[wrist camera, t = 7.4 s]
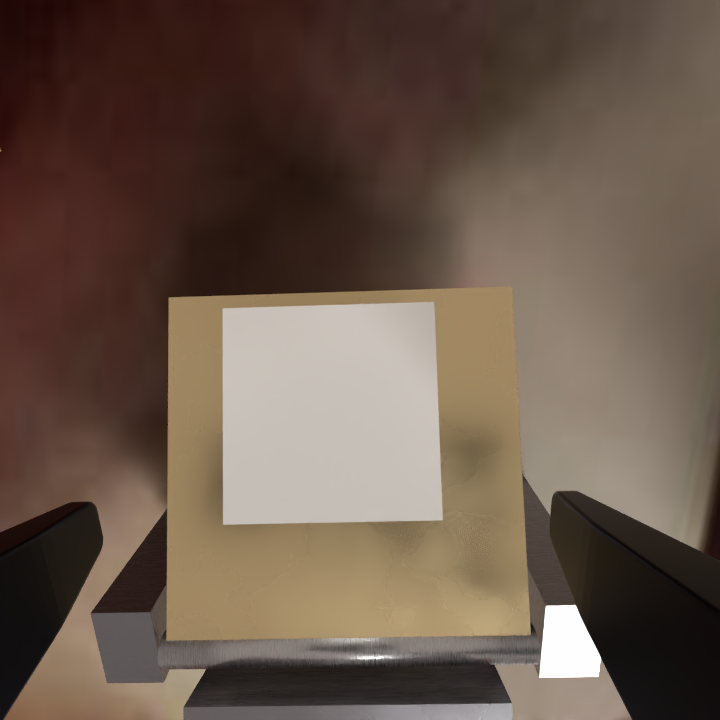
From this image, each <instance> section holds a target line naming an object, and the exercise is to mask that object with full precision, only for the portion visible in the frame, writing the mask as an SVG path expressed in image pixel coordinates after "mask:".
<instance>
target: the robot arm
mask: <svg viewBox="0 0 720 720" xmlns="http://www.w3.org/2000/svg"><path fill="white" fill-rule="evenodd" d="M549 532H550V538H551V542H552V545H553V547H554V550H555V552H556V555H557V558H558V560H559V563H560V566H561V568H562V571H563V573H564V576H565V579H566V581H567V584H568V586H569V589H570V592H571V594H572V597H573V600H574V602H575V605H576V607H577V610H578V612H579V614H580V617H581V619H582V621H583V623H584V625H585V627H586V629H587V631H588V633H589V635H590V637H591V639H592V641H593V643H594V645H595V647H596V649H597V651H598V653H599V655H600V657H601V659H602V661H603V663H604V665H605V667H606V669H607V671H608V673H609V675H610V677H611V679H612V681H613V683H614V685H615V687H616V689H617V691H618V693H619V695H620V697H621V699H622V701H623V703H624V704H625V706H626V708H627V710H628V712H629V714H630V716H631V718H632V720H720V561H719V560H717V559H715V558H713V557H711V556H709V555H707V554H705V553H703V552H701V551H699V550H697V549H694V548H692V547H690V546H688V545H686V544H684V543H682V542H680V541H678V540H676V539H674V538H672V537H670V536H668V535H666V534H664V533H662V532H660V531H658V530H656V529H654V528H652V527H649V526H647V525H645V524H643V523H641V522H639V521H637V520H635V519H633V518H631V517H629V516H627V515H625V514H623V513H621V512H619V511H617V510H615V509H613V508H611V507H609V506H606V505H604V504H602V503H600V502H598V501H596V500H594V499H592V498H590V497H588V496H586V495H584V494H582V493H580V492H578V491H557V492H555V493H554V494H553V497H552V504H551V516H550V527H549ZM102 545H103V535H102V530H101V525H100V521H99V516H98V512H97V508H96V506H95V504H93V503H92V502H71V503H68V504H65V505H63V506H61V507H58V508H56V509H54V510H51V511H49V512H47V513H44V514H42V515H40V516H37V517H35V518H33V519H30V520H28V521H26V522H23V523H21V524H19V525H16V526H14V527H12V528H9V529H7V530H5V531H2V532H0V720H4V718H5V717H6V715H7V714H8V712H9V710H10V709H11V707H12V706H13V704H14V702H15V701H16V699H17V698H18V696H19V694H20V693H21V691H22V690H23V688H24V687H25V685H26V683H27V682H28V680H29V679H30V677H31V675H32V674H33V672H34V671H35V669H36V667H37V666H38V664H39V663H40V661H41V659H42V658H43V656H44V655H45V653H46V651H47V650H48V648H49V647H50V645H51V644H52V642H53V640H54V639H55V637H56V635H57V634H58V632H59V630H60V629H61V627H62V625H63V623H64V622H65V620H66V618H67V616H68V614H69V612H70V610H71V609H72V607H73V605H74V603H75V601H76V599H77V597H78V595H79V593H80V591H81V589H82V587H83V585H84V583H85V581H86V579H87V577H88V575H89V573H90V571H91V569H92V567H93V565H94V563H95V561H96V559H97V557H98V556H99V554H100V551H101V549H102Z"/></svg>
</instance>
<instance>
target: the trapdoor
mask: <svg viewBox="0 0 720 720" xmlns="http://www.w3.org/2000/svg"><path fill="white" fill-rule="evenodd" d="M415 302H434V309H435V335H436V360H437V385H438V411H439V436H440V461H441V487H442V512H443V520H434V521H384V522H334V523H284V524H233V525H223V308H251V307H284V306H316V305H349V304H382V303H415ZM539 662H540V646H539V641H538V637H537V633H536V630H535V628H534V626H533V624H532V623H531V622H530V609H529V590H528V572H527V553H526V535H525V516H524V498H523V479H522V461H521V442H520V424H519V405H518V387H517V368H516V350H515V332H514V313H513V295H512V287H482V288H450V289H419V290H387V291H356V292H324V293H293V294H262V295H230V296H199V297H169V340H168V486H167V629H166V630H165V632H164V633H163V636H162V638H161V641H160V644H159V649H158V666H159V668H160V669H161V670H165V669H206V671H205V673H204V674H203V676H202V678H201V679H200V681H199V683H198V684H197V686H196V688H195V689H194V691H193V693H192V694H191V696H190V698H189V699H188V701H187V703H186V704H185V706H184V720H513V714H512V702H511V700H510V698H509V696H508V694H507V691H506V689H505V687H504V685H503V683H502V681H501V678H500V676H499V674H498V672H497V670H496V667H495V665H533V664H539Z"/></svg>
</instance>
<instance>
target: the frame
mask: <svg viewBox="0 0 720 720" xmlns="http://www.w3.org/2000/svg"><path fill="white" fill-rule="evenodd" d="M522 479H523V498H524V516H525V535H526V553H527V572H528V590H529V609H530V622H531V623H532V624H533V626H534V628H535V630H536V633H537V637H538V641H539V646H540V662H539V664H534V665H535V668H536V670H537V673H538V676H539V678H540V677H598V675H599V668H600V661H601V657H600V655H599V653H598V651H597V649H596V647H595V645H594V643H593V641H592V639H591V637H590V635H589V633H588V631H587V629H586V627H585V625H584V623H583V621H582V619H581V617H580V614H579V612H578V610H577V607H576V605H575V602H574V600H573V597H572V594H571V592H570V589H569V586H568V584H567V581H566V579H565V576H564V573H563V571H562V568H561V566H560V563H559V560H558V558H557V555H556V552H555V550H554V547H553V545H552V542H551V538H550V532H549V527H550V515H549V514H548V512H547V511H546V509H545V508H544V506H543V505H542V503H541V502H540V500H539V498H538V497H537V495H536V494H535V492H534V491H533V489H532V488H531V486H530V485H529V483H528V482H527V480H526V479H525V477H522ZM91 617H92V621H93V625H94V630H95V634H96V638H97V642H98V647H99V651H100V655H101V659H102V664H103V668H104V672H105V676H106V681H107V683H155V682H164V681H165V678H166V676H167V674H168V672H169V670H170V669H165V670H161V669H160V668H159V666H158V649H159V644H160V641H161V638H162V636H163V633H164V632H165V630H166V629H167V509H166V511H165V512H164V514H163V515H162V516H161V518H160V519H159V520H158V522H157V523H156V524H155V526H154V527H153V529H152V530H151V531H150V533H149V534H148V535H147V537H146V538H145V540H144V541H143V542H142V544H141V545H140V546H139V548H138V549H137V551H136V552H135V553H134V555H133V556H132V557H131V559H130V560H129V561H128V563H127V564H126V566H125V567H124V568H123V570H122V571H121V572H120V574H119V575H118V577H117V578H116V579H115V581H114V582H113V583H112V585H111V586H110V587H109V589H108V590H107V592H106V593H105V594H104V596H103V597H102V598H101V600H100V601H99V603H98V604H97V605H96V607H95V608H94V609H93V611H92V612H91Z"/></svg>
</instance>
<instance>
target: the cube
mask: <svg viewBox="0 0 720 720" xmlns="http://www.w3.org/2000/svg"><path fill="white" fill-rule="evenodd" d="M434 520H443V512H442V487H441V461H440V436H439V411H438V385H437V360H436V335H435V309H434V302H415V303H382V304H349V305H316V306H284V307H251V308H223V525H233V524H284V523H334V522H384V521H434Z"/></svg>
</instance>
